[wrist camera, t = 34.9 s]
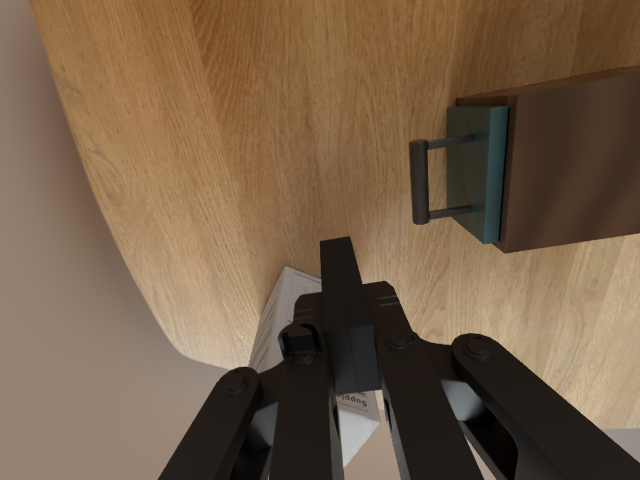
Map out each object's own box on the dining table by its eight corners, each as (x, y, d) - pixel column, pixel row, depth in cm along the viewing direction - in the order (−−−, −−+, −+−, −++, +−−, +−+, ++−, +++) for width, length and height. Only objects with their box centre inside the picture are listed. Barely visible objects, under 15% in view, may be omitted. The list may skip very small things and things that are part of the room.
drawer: (400, 221, 32) (423, 253, 25) (393, 117, 28) (418, 121, 21) (580, 192, 31) (658, 218, 24) (600, 79, 27) (702, 69, 20)
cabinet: (454, 214, 33) (504, 253, 24) (455, 98, 28) (517, 94, 19) (595, 191, 32) (700, 224, 23) (620, 67, 27) (763, 49, 18)
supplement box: (257, 321, 39) (217, 464, 23) (284, 263, 35) (257, 385, 20) (325, 344, 40) (330, 492, 25) (357, 291, 37) (384, 424, 21)
